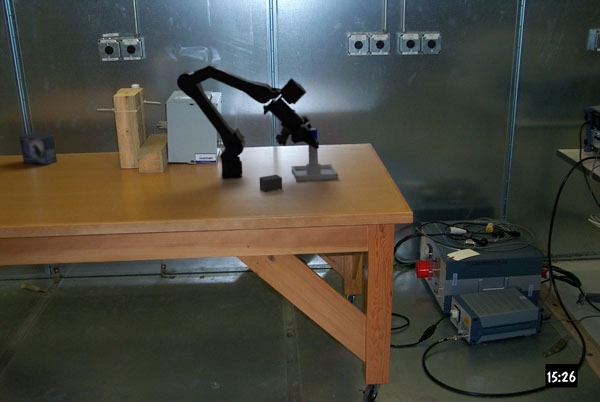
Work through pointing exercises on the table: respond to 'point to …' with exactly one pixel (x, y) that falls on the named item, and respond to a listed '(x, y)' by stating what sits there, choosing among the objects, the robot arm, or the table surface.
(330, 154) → the table surface
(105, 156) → the table surface
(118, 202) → the table surface
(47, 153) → the small box
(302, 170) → the tray
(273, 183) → the block
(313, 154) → the bolt
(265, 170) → the table surface
